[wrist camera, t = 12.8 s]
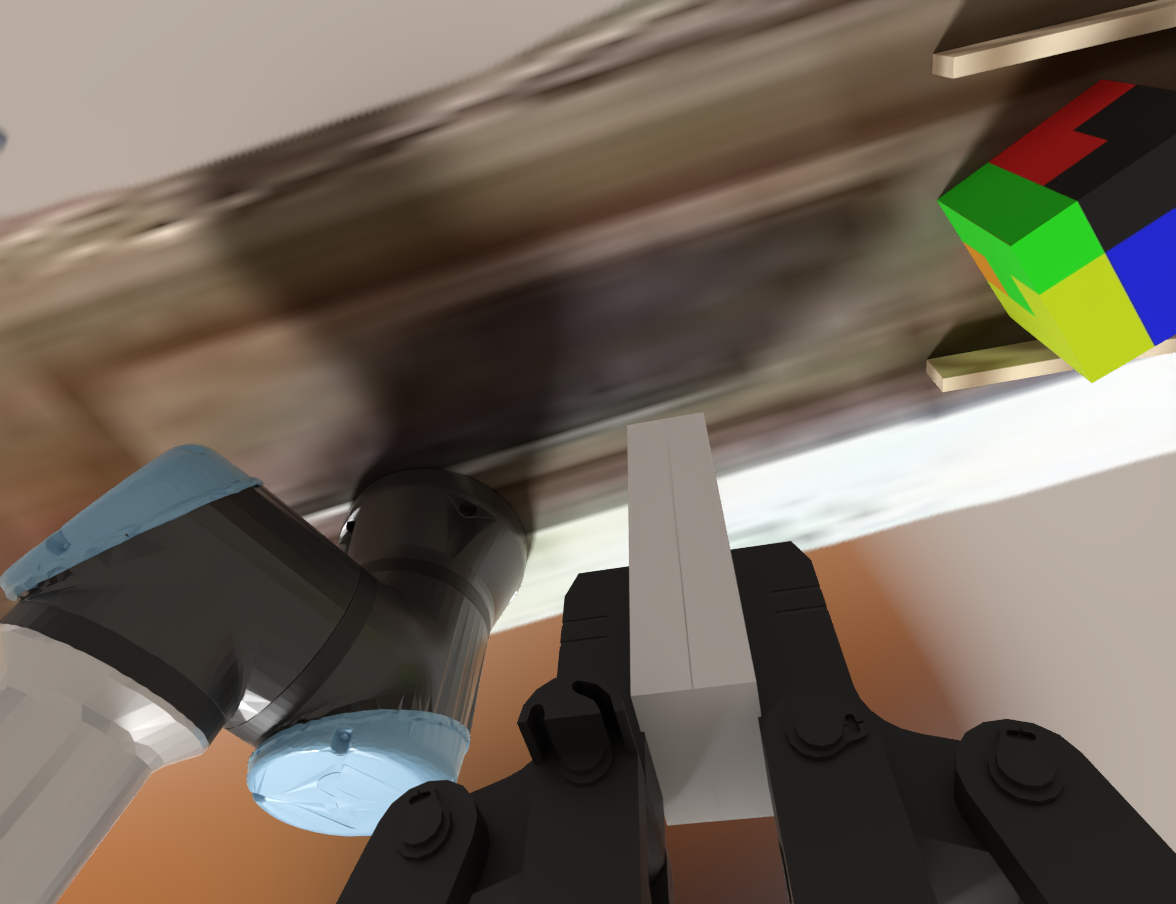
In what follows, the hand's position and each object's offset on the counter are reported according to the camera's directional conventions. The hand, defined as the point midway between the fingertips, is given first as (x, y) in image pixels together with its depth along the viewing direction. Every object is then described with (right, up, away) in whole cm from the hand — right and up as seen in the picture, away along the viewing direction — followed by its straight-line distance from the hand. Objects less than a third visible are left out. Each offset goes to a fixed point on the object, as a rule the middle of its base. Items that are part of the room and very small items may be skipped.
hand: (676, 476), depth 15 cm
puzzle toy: (+27, +16, +30) cm, 43 cm away
